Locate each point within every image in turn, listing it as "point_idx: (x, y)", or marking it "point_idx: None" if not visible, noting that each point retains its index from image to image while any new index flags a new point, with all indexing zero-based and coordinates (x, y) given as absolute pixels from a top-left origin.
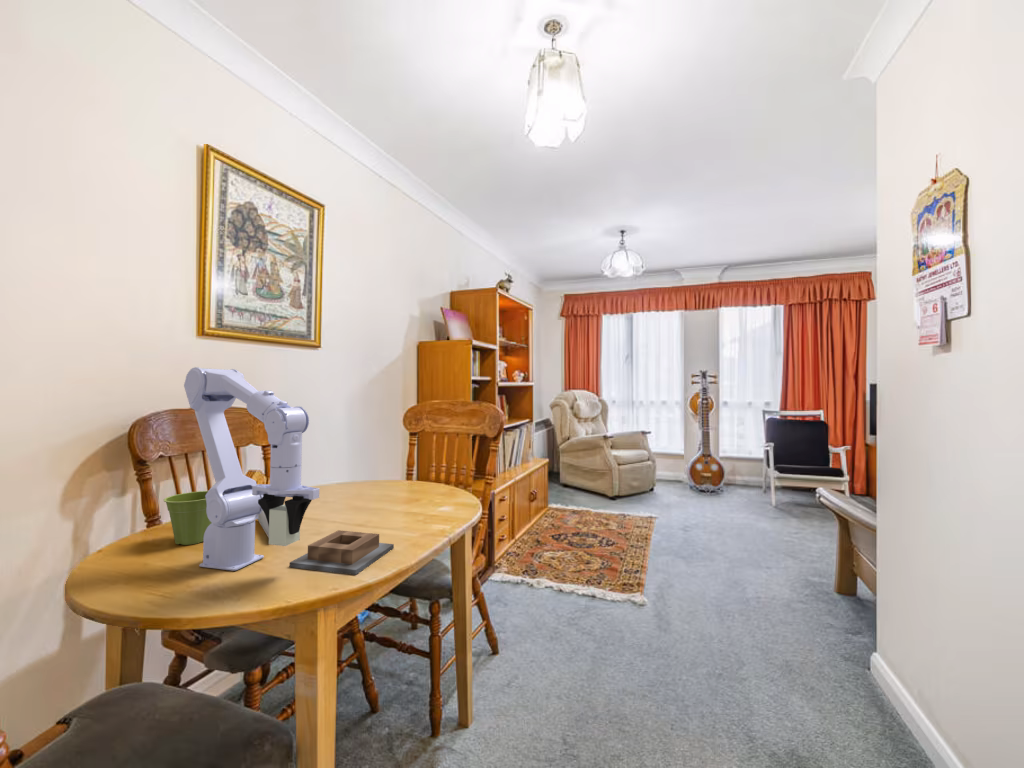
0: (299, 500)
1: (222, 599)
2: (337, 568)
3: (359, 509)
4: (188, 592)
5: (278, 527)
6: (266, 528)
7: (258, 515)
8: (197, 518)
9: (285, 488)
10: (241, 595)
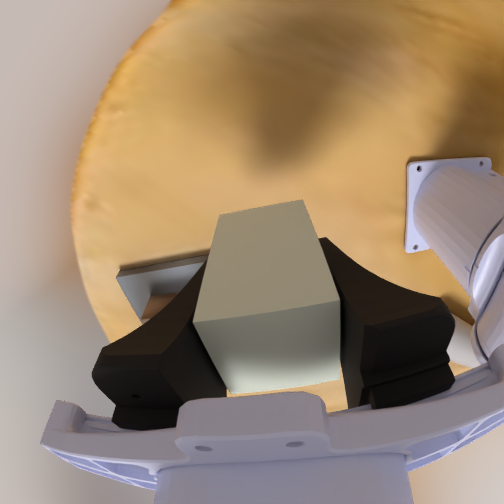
0: (107, 395)
1: (277, 30)
2: (158, 269)
3: None
4: (396, 35)
5: (255, 246)
6: (469, 328)
7: None
8: None
9: (164, 481)
10: (254, 63)
